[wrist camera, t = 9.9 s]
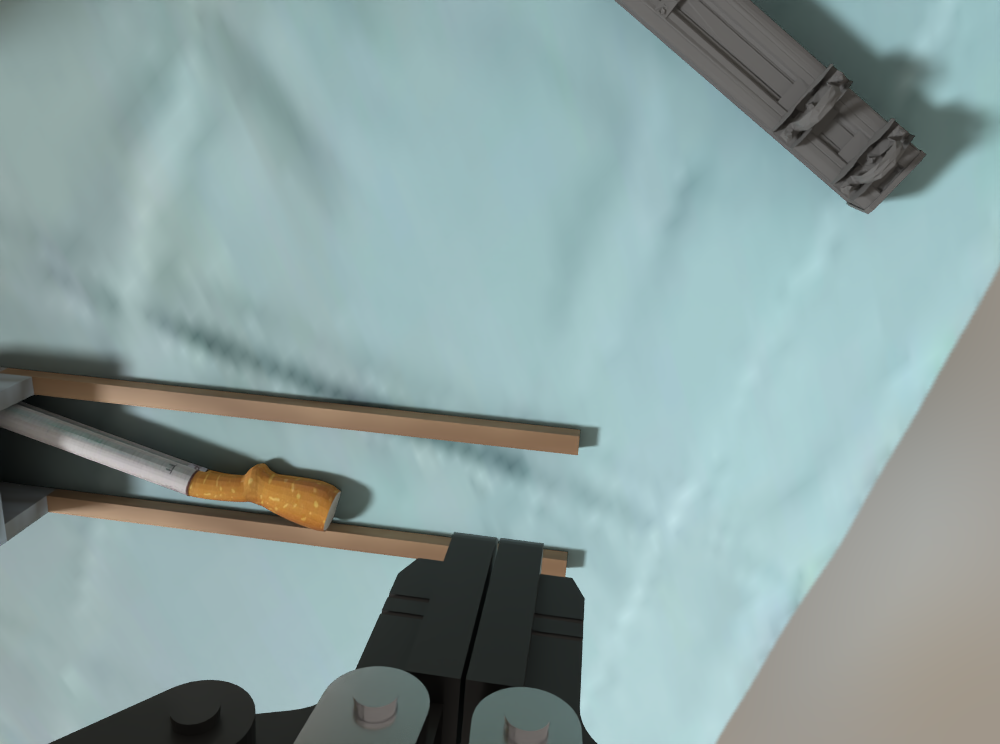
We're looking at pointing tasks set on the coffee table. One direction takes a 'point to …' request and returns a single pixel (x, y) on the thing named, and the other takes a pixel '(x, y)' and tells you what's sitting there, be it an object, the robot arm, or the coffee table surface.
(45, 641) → the coffee table surface
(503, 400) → the coffee table surface
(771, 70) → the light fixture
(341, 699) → the robot arm
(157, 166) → the coffee table surface
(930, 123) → the coffee table surface
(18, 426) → the chisel
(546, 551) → the holder
